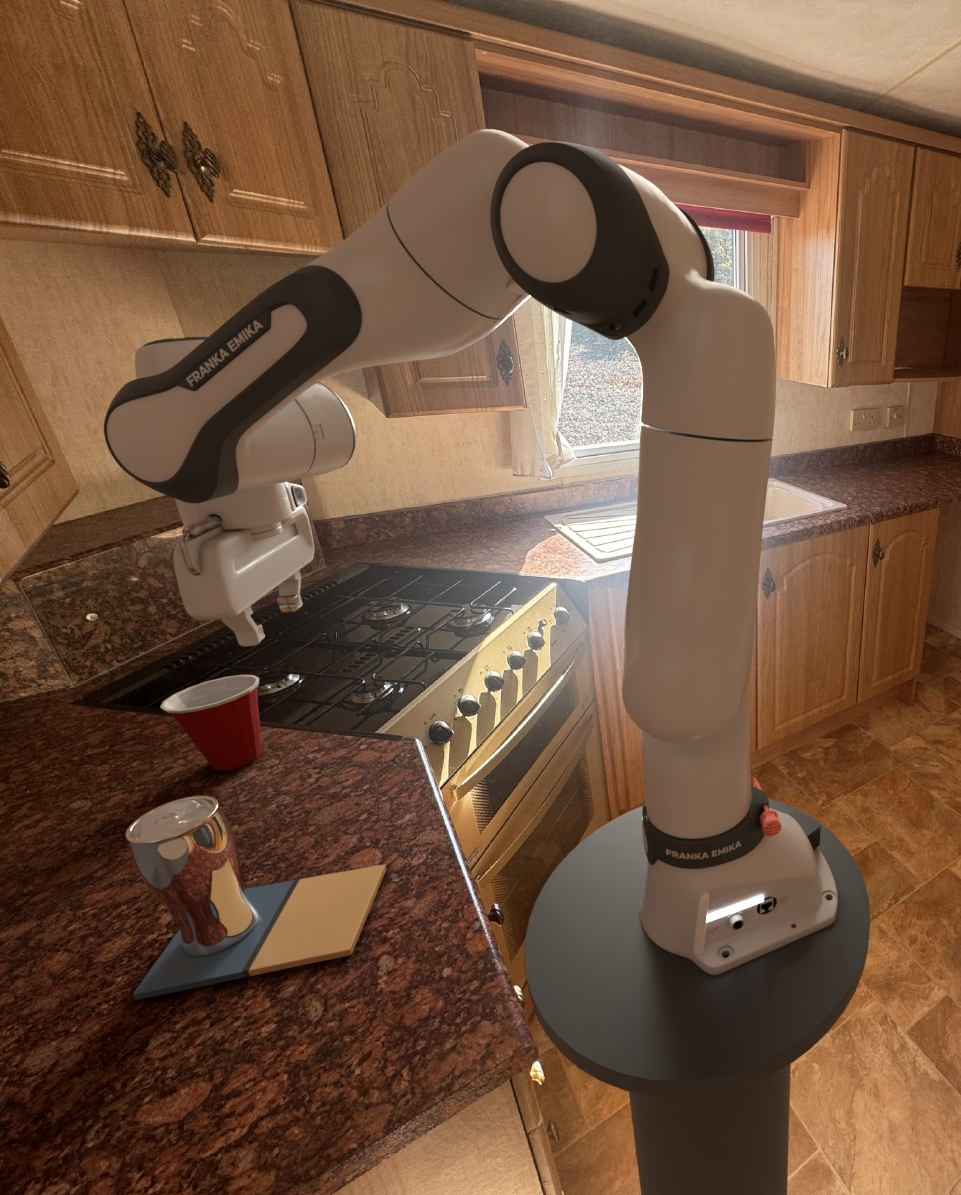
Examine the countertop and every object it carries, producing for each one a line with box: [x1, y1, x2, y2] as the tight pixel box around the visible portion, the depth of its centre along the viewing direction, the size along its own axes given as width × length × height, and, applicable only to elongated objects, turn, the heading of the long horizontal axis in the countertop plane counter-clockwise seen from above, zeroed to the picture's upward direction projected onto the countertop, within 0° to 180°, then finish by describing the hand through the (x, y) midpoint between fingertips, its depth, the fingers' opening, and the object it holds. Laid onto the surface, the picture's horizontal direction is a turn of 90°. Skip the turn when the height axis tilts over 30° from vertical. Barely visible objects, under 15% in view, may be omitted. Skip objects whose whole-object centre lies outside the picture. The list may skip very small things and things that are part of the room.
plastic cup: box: [160, 674, 263, 771], centre depth 92 cm, size 11×11×12 cm
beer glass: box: [125, 795, 259, 956], centre depth 63 cm, size 7×7×15 cm
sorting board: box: [131, 863, 387, 1001], centre depth 67 cm, size 18×12×1 cm, turn 106°
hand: (273, 625), depth 70 cm, fingers open, 8 cm apart
